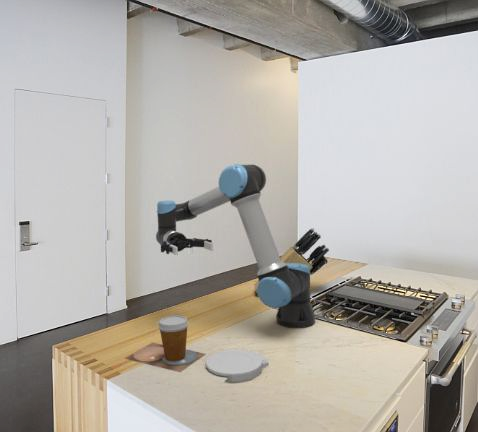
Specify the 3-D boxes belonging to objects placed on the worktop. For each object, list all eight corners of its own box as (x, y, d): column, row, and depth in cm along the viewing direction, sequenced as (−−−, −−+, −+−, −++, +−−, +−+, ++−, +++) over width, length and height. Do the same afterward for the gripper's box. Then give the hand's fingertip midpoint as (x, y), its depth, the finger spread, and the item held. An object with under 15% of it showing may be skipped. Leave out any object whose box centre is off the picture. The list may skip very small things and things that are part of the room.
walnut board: (206, 358, 141) (206, 353, 141) (180, 377, 129) (180, 372, 129) (152, 346, 152) (152, 342, 152) (124, 362, 140) (123, 358, 140)
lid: (281, 370, 132) (281, 361, 132) (223, 389, 122) (223, 379, 121) (250, 351, 147) (249, 342, 146) (196, 366, 136) (195, 357, 136)
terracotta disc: (175, 351, 144) (175, 349, 144) (153, 364, 135) (153, 363, 134) (149, 345, 149) (148, 344, 149) (126, 358, 140) (126, 356, 140)
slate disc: (204, 354, 141) (204, 353, 141) (183, 368, 131) (183, 367, 131) (176, 348, 146) (176, 347, 146) (155, 361, 137) (154, 360, 137)
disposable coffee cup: (162, 351, 143) (160, 315, 142) (191, 350, 143) (190, 314, 142) (157, 364, 134) (155, 326, 132) (188, 363, 134) (186, 325, 132)
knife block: (330, 295, 206) (329, 230, 203) (254, 297, 206) (253, 232, 203) (325, 288, 217) (325, 226, 214) (254, 290, 218) (252, 228, 214)
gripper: (204, 247, 183) (226, 255, 164) (145, 253, 172) (161, 263, 153) (203, 229, 182) (225, 235, 163) (144, 234, 171) (160, 242, 152)
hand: (194, 249), depth 158 cm, fingers open, 13 cm apart
